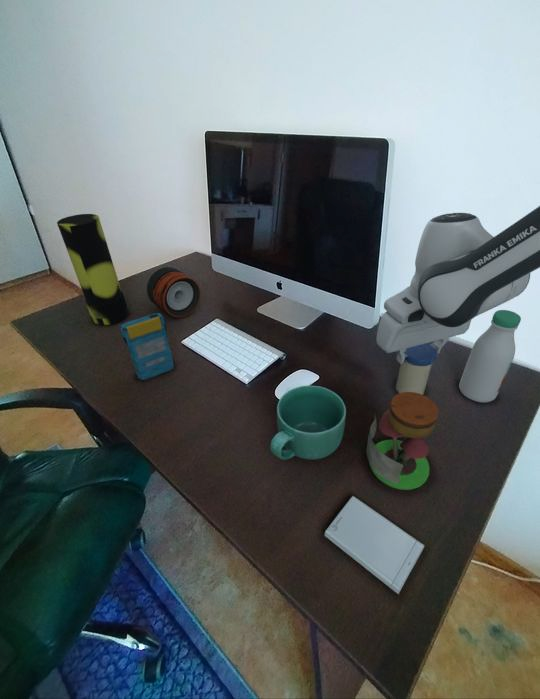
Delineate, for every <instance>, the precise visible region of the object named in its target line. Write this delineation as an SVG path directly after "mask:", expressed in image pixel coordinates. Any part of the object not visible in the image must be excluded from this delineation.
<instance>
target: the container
mask: <svg viewBox="0 0 540 699" xmlns="http://www.w3.org/2000/svg"><path fill="white" fill-rule="evenodd" d="M56 224H57V227H58V230H59V232H60V236H61V237H62V240H63V243H64V246H65V248H66V252H67V254H68V256H69V259H70V262H71V264H72V267H73V270H74V272H75V275H76V278H77V280H78V283H79V286H80V289H81V291H82V294H83V296H84V300H85V304H86V307H87V310H88V313H89V315H90V317H91V318H92V320H93V322H94V323H95V324H96V325H99V326H111V325H116V324H118V323H121V322H122V321H124V320H125V319H126V318H127V317H128V315H129V311H128V308H127V307H128V304H127V301H126V299H125V298H126V297H125V295H124V293H123V291H122V287H121V285H120V282H119V279H118V275H117V272H116V268H115V265H114V262H113V258H112V256H111V252H110V249H109V245H108V242H107V239H106V235H105V233H104V229H103V226H102V223H101V220H100V216H99V215H97V214H95V213H80V214H74V215H69V216H65V217H62V218H61V219H59V220H57V222H56Z"/></svg>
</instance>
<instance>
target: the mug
mask: <svg viewBox="0 0 540 699" xmlns="http://www.w3.org/2000/svg"><path fill="white" fill-rule="evenodd" d="M276 406H277V407H276V427H277V433H276V434H275V435H274V436H273V438H272V439H271V441H270V445H269V448H270V449H269V450H270V452H271V453H272V455H274V456H275V457H276V458H279V459H280V460H283V461H286V460H290V459H291V458H293V457H297V458H300V459H303V460H310V461H311V460H321V459H323V458H326V457H328V456H330V455H332V454H333V453H334V452H335V451H336V450H337V449H338V447H339V446H340V444H341V442H342V441H343V437H344V432H345V426H346V418H347V417H346V416H347V407H346V405H345V403H344V401H343V399H342V398H341V397H340V396H339V394H337V392H334V391H332V390H330V389H328V388H326V387H323V386H318V385H302V386H297V387H293V388H291V389H289V390H288V391H287V392H285V393H284V394H283V395H282V396H281V397H280V398H279V400H278V403H277V405H276Z"/></svg>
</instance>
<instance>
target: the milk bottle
mask: <svg viewBox="0 0 540 699" xmlns="http://www.w3.org/2000/svg"><path fill="white" fill-rule="evenodd" d="M521 321H522V317H521V315H519V314H518V313H517V312H514V311H512V310H508V309H507V310H506V309H498V310H496V311H495V312H493V315H492V318H491V320H490V323H491V324H490V326H488V328H487V330H485V331H484V332H483V333H482V334H481V335H480V336H479V337H478V338H477V339H476V341H475V342H474V344H473V346H472V348H471V351H470V353H469V356H468V358H467V361H466V364H465V366H464V369H463V371H462V376H461V377H460V380H459V384H458V388H459V391H460V392H461V394H462V395H463V396H464V397H466V398H467V399H469V400H471V401H473V402H478V403H491V402H492V401H494V400H496V398H497V396H498V395H499V393H500V390H501V388H502V385H503V383H504V381H505V379H506V377H507V375H508V373H509V370H510V368H511V365H512V363H513V361H514V359H515V355H516V341H515V332H516V331H517V329H518V328H519V326H520V323H521Z"/></svg>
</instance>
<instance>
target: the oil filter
mask: <svg viewBox="0 0 540 699" xmlns="http://www.w3.org/2000/svg"><path fill="white" fill-rule="evenodd" d="M146 293H147V296H148V299H149V300H150V301H151V303H152V304H153V305H154V306H156V307H158V308H159V309H161V310H163V311H164V312H166V313H167V314H169V315H170V316H172V317H174V318H183V317H186V316H189V315H190V314H191V313H193V312H194V311H195V310H196V308H197V307H198V305H199V304H200V301H201V288H200V285H199V283H198V282H197V281H196V280H195V279H194V278H192V277H190V276H188V275H187V274H185V273H184V272H183V271H181V270H178V269H177V268H175V267H170V266H165V267H161V268H158V269H157V270H155V271H154V272H153V273H152V274H151V275H150V277H149V279H148V280H147V284H146Z"/></svg>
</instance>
